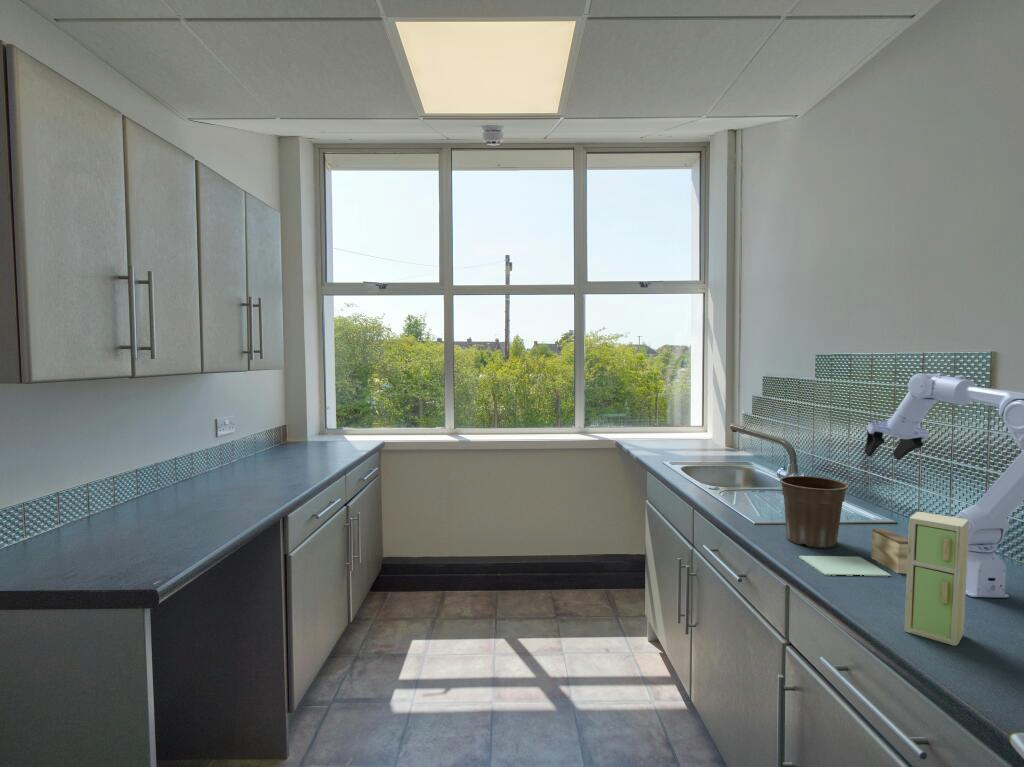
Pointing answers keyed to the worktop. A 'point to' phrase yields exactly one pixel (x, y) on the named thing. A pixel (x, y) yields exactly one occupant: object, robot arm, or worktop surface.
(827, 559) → the rubber mat
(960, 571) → the toy refrigerator
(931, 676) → the worktop surface
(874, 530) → the oak slab
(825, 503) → the plant pot
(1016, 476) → the robot arm
